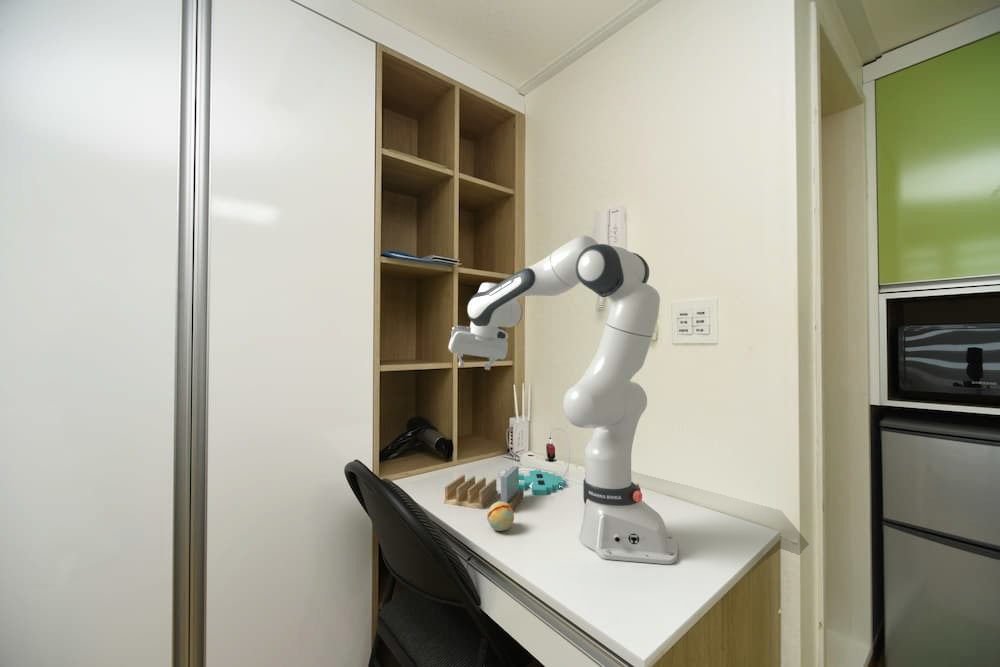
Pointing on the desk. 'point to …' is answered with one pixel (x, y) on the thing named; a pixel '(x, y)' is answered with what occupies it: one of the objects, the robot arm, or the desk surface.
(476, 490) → the rack
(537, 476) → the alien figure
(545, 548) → the desk surface
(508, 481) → the plate
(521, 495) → the stand
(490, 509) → the ball
